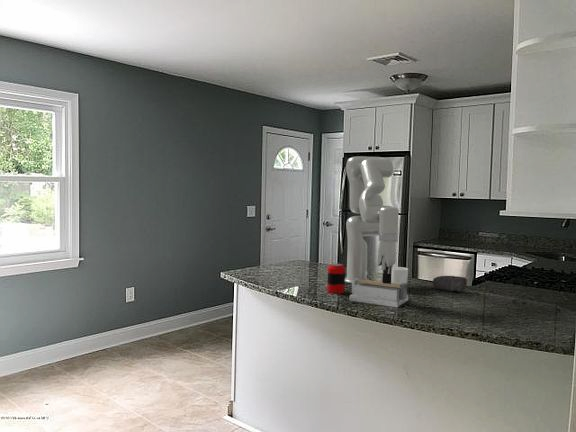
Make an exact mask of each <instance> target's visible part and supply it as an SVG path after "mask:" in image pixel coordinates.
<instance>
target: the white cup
mask: <svg viewBox="0 0 576 432" xmlns="http://www.w3.org/2000/svg"><path fill="white" fill-rule="evenodd" d="M408 275H409V268H408V267H403V266H393V267H392V276H391V283H399V284H403V283H407V284H408V279H409V276H408Z"/></svg>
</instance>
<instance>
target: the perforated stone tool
mask: <svg viewBox="0 0 576 432" xmlns="http://www.w3.org/2000/svg"><path fill="white" fill-rule="evenodd" d="M467 281H468V279H467V278H466V276H465V277H464V276H455V275H440V276H437V277H434V278H433V279H432V283H431V284H432V286H433V287H434V288H436V290H437V289H438V290H442V291H445V292H446V291H447V292H457V293H461V292H463V291H465V290H466V288H467V286H468V282H467Z"/></svg>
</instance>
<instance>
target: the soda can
mask: <svg viewBox="0 0 576 432" xmlns="http://www.w3.org/2000/svg"><path fill="white" fill-rule="evenodd" d="M345 277H346V267H345V266H344V265H343V264H342V263H330V264H329V266H328V267H327V283H326V285H327V288H326V289H327V290H326V291H327V293H330V294H334V295H340V294H344V293H346V292H345V290H346V289H345V288H346V287H345V285H346V284H345V283H346V282H345Z"/></svg>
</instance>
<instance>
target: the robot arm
mask: <svg viewBox="0 0 576 432" xmlns="http://www.w3.org/2000/svg"><path fill="white" fill-rule="evenodd" d="M345 169H346V176H347V179H348V182H349V210H350V212H352V213H354V214H360V215H354V216H350V217H349V218H347V219H346V223H345V225H346V226H345V227H346V236H347V237H346V238H347V249H346V250H347V257H346V259H347V260H346V276H345V283H348V284H352V280H353V279H355V278H358V279H362V280H370V278H368V277H367V276H368V274H369V271H368V270H367V269H368V243H367V241H366V240H365V239H364V237H378V249H377V257H376V258H377V260H376V261H377V262H376V265H377V266H378V267H381V268H380V269H381V270H382V277H381V278H382V281H381V282H382V283H387V284H390V283H391V276H392V267H394V265H395V264H396V262H397V244H396V243H397V242H399V241H398V240H399V208H398V207H396V206H394V207H393V206H391V205H384V201H383V200H384V199H383V198H382V196H381V195H380V194H382V192H384V191H385V189H386V183H385V181H384V178H388V179H389V178H391V177H392V176H393V174H394V164H393V163H392V161H391V160H390V159H389V158H387V157H381V156H362V155H361V156H359V155H357V156H351V157H349V158H348V159H347V161H346V165H345ZM358 284H359V282H358Z"/></svg>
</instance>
